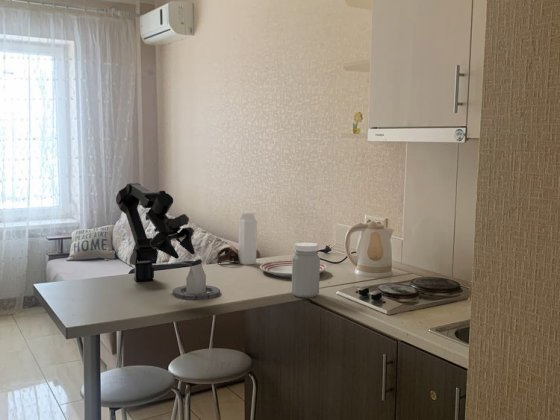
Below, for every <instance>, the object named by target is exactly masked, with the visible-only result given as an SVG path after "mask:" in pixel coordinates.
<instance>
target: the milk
mask: <svg viewBox="0 0 560 420" xmlns="http://www.w3.org/2000/svg"><path fill="white" fill-rule="evenodd" d="M257 232H258V220H257V219H256V217H255V213H254V212H253V213H252V212H251V213H249V212H248V213H241V217H240V218H239V220H238V252H237V253H238V256H239V259H240V264H242V265H244V266H245V265H256V264H257V240H258V239H257V238H258V237H257V235H258V233H257Z"/></svg>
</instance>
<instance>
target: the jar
mask: <svg viewBox="0 0 560 420" xmlns="http://www.w3.org/2000/svg"><path fill="white" fill-rule="evenodd" d="M294 250H295V251H294V254H293V256H292V259H291V260H292V278H291V293H292V295H294V296H296V297H298V298H307V299H308V298H315V297H317V296H318V295H319V293H320V274H321V273H320V263H321V258H320V256H319V252H318V251H319V244H318V243H316V242H311V241H310V242H305V241H304V242H303V241H302V242H296V243H294Z"/></svg>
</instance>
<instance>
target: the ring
mask: <svg viewBox="0 0 560 420" xmlns="http://www.w3.org/2000/svg"><path fill="white" fill-rule="evenodd" d="M172 295H173V296H174V297H175V298H178V299H183V300H190V301H191V300H193V301H200V300H208V299H214V298H217V297H219V296H220V295H221V289H220V288H218V287H216V286H214V285H208V284H206V292H205V293H203V294H186V285H181V286H178V287H175V288H174V289H172Z"/></svg>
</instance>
